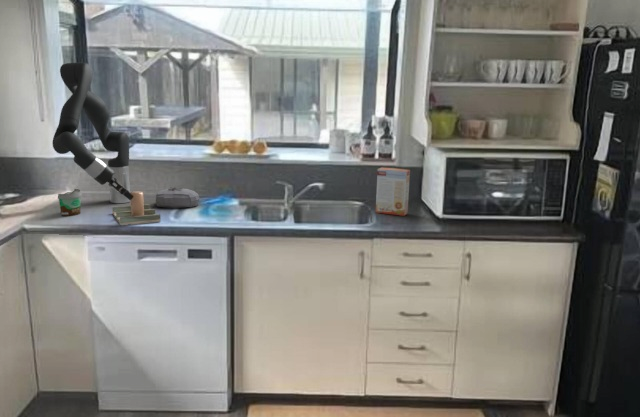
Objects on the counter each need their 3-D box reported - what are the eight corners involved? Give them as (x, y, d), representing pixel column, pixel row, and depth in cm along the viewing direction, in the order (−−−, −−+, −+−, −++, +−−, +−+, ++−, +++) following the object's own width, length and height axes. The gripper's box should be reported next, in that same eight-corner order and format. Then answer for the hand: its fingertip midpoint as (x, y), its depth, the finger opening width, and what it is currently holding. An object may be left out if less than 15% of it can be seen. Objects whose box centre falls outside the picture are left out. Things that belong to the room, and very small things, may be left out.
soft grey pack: (153, 208, 262) (196, 209, 262) (152, 190, 260) (196, 191, 260) (161, 201, 276) (202, 202, 277) (160, 184, 274) (202, 185, 275)
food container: (72, 218, 241) (70, 194, 239) (59, 216, 242) (57, 194, 240) (89, 211, 253) (87, 189, 250) (76, 210, 254) (75, 188, 252)
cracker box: (407, 213, 264) (410, 169, 259) (404, 216, 259) (407, 171, 254) (379, 210, 270) (381, 166, 265) (375, 212, 265) (377, 168, 260)
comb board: (112, 213, 250) (112, 207, 249) (149, 210, 257) (149, 204, 256) (120, 225, 232) (120, 218, 231) (160, 221, 239) (160, 214, 238)
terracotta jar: (130, 217, 241) (129, 191, 238) (143, 216, 243) (141, 190, 241) (132, 220, 236) (131, 194, 234) (145, 218, 239) (144, 193, 236)
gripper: (108, 166, 223) (139, 192, 231) (103, 161, 235) (133, 186, 243) (94, 180, 222) (126, 206, 230) (90, 174, 234) (120, 199, 242)
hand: (130, 196), depth 236 cm, fingers open, 8 cm apart
